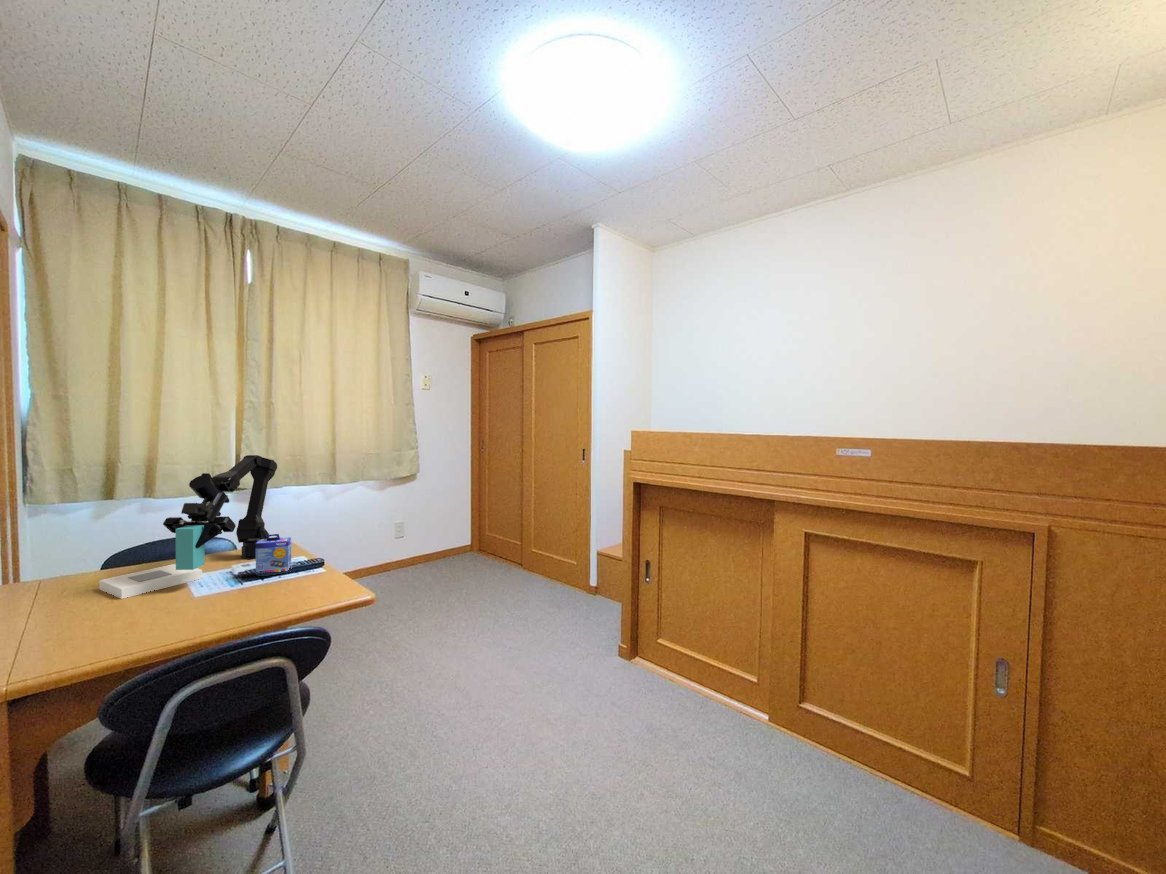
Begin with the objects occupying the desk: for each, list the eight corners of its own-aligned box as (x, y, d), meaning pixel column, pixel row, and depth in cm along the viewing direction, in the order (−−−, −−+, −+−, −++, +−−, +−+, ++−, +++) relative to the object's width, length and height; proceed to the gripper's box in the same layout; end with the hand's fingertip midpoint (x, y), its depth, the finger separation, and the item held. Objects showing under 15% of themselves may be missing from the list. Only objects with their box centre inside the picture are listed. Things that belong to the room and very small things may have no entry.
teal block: (187, 564, 145) (187, 525, 144) (204, 564, 145) (204, 525, 145) (175, 569, 140) (175, 528, 139) (193, 569, 140) (193, 529, 140)
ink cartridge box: (254, 578, 152) (254, 536, 151) (258, 573, 157) (258, 532, 156) (289, 574, 156) (288, 533, 156) (291, 569, 161) (291, 530, 161)
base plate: (179, 571, 158) (179, 562, 158) (202, 578, 151) (202, 569, 151) (99, 589, 140) (99, 579, 140) (121, 598, 133) (121, 588, 133)
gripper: (166, 492, 144) (138, 535, 134) (229, 492, 147) (206, 533, 136) (185, 512, 152) (159, 553, 142) (244, 511, 155) (224, 551, 144)
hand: (187, 547), depth 141 cm, fingers closed on teal block, 5 cm apart
